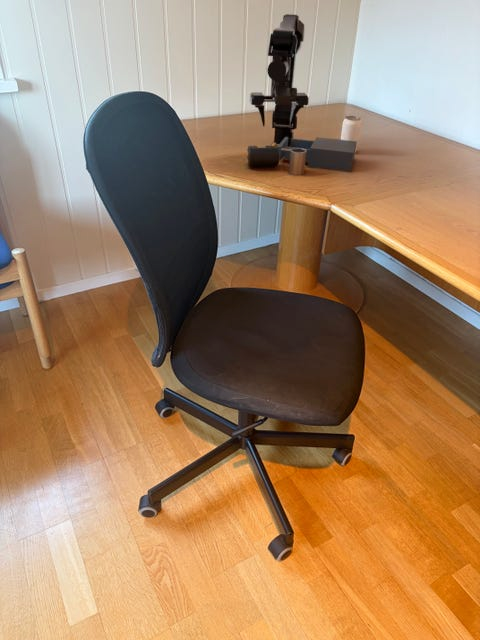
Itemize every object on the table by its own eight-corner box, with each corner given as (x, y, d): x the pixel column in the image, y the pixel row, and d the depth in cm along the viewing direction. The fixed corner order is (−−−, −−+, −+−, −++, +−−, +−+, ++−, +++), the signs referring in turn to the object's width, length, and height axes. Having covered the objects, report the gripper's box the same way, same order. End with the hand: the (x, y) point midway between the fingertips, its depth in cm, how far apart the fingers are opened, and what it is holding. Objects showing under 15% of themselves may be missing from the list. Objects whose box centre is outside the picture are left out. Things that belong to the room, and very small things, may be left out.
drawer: (266, 159, 172) (267, 145, 169) (274, 148, 182) (275, 135, 179) (314, 164, 168) (316, 150, 165) (320, 153, 178) (321, 140, 175)
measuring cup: (278, 172, 163) (279, 150, 158) (281, 168, 167) (283, 146, 163) (302, 175, 161) (304, 153, 157) (305, 170, 165) (307, 148, 161)
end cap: (249, 171, 163) (250, 150, 159) (245, 164, 169) (246, 144, 165) (278, 170, 165) (280, 150, 161) (274, 163, 170) (275, 143, 166)
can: (356, 154, 181) (361, 120, 174) (338, 153, 182) (343, 119, 175) (356, 149, 186) (361, 116, 179) (339, 148, 187) (344, 115, 180)
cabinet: (308, 166, 169) (310, 147, 165) (314, 155, 179) (316, 137, 176) (350, 171, 166) (353, 152, 162) (353, 159, 176) (356, 141, 173)
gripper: (254, 79, 149) (252, 133, 158) (314, 80, 151) (309, 132, 160) (250, 73, 158) (248, 123, 167) (307, 73, 160) (302, 123, 169)
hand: (277, 126), depth 166 cm, fingers open, 9 cm apart
